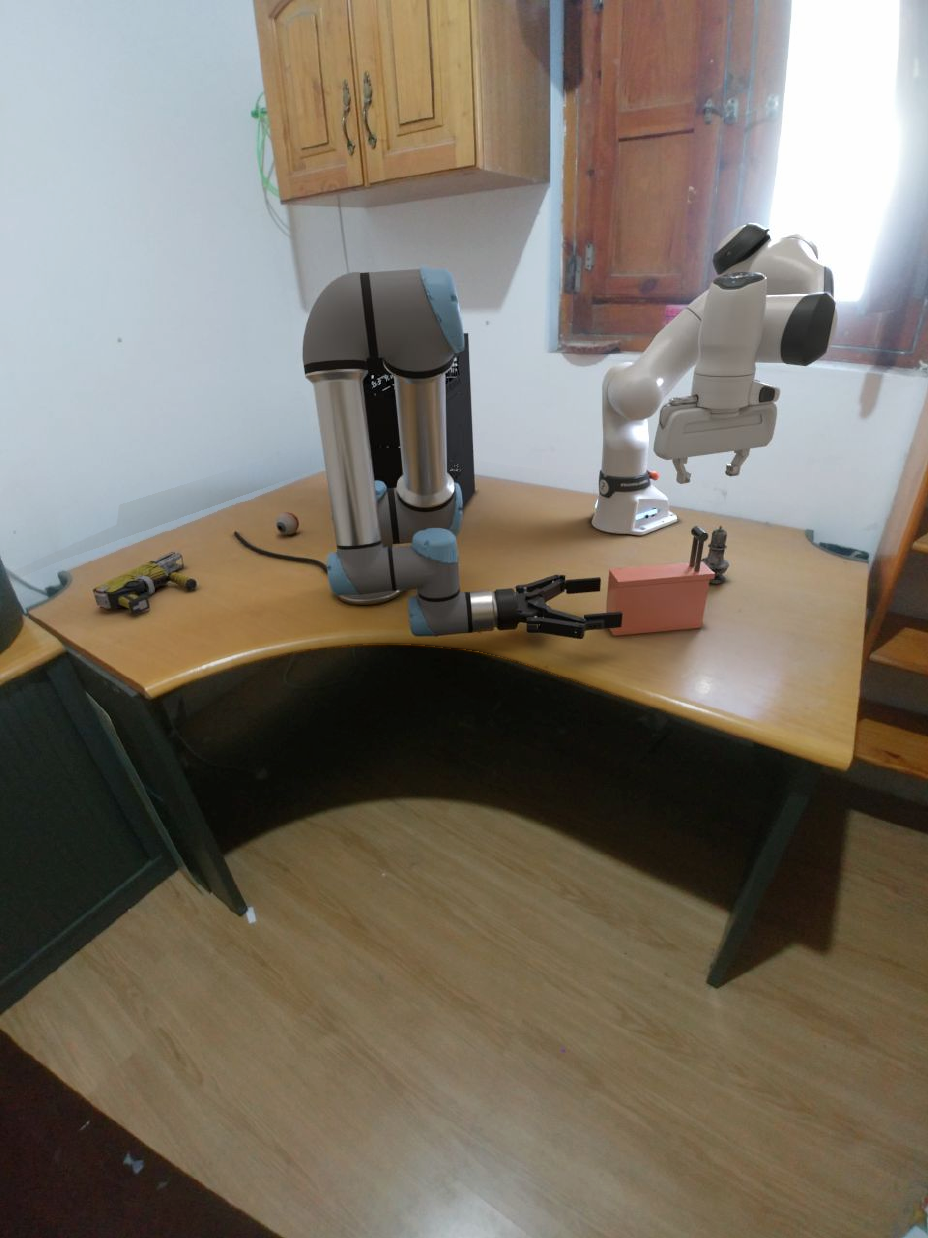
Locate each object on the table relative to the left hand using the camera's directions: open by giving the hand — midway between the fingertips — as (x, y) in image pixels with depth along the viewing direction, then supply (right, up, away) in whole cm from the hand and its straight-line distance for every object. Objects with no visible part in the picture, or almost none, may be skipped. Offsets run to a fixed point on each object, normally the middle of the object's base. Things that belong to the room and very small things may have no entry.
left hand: (610, 600), depth 110 cm
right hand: (+14, +20, -9) cm, 26 cm away
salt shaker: (+27, +5, +20) cm, 34 cm away
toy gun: (-96, +3, +28) cm, 100 cm away
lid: (+9, +4, 0) cm, 10 cm away
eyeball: (-75, +20, +55) cm, 95 cm away
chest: (+9, -4, +5) cm, 11 cm away
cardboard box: (-37, +28, +66) cm, 80 cm away
